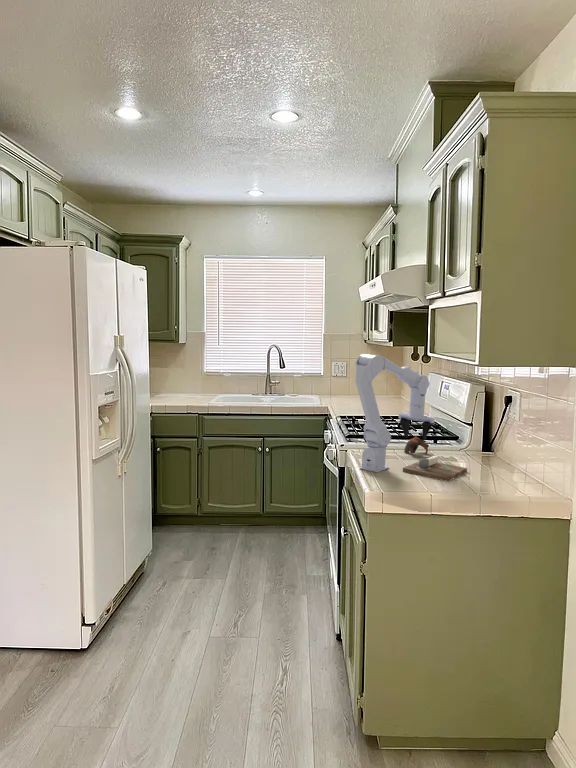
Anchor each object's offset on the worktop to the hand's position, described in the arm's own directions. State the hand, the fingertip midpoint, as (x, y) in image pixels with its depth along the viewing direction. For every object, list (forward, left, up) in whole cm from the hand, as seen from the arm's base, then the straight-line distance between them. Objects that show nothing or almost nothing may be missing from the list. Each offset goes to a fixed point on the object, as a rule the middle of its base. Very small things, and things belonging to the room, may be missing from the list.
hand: (414, 438), depth 227 cm
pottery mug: (+18, +8, -11) cm, 22 cm away
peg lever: (-5, -9, -8) cm, 13 cm away
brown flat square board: (-5, -12, -10) cm, 16 cm away
